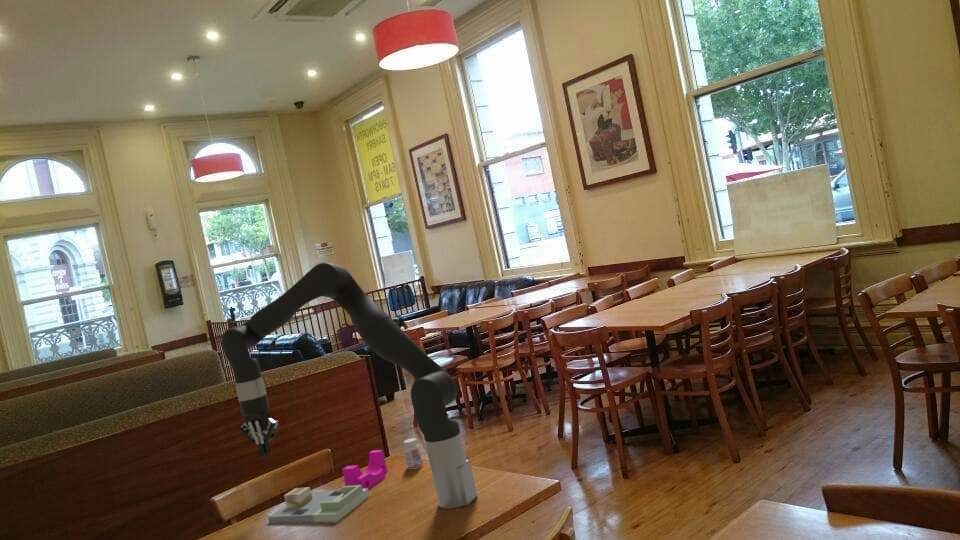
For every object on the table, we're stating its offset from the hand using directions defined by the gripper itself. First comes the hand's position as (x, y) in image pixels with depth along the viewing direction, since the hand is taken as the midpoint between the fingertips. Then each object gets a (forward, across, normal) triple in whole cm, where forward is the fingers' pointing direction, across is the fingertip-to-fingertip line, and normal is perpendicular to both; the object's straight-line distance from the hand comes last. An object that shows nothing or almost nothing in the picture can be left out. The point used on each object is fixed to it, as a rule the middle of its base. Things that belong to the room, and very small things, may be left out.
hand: (266, 455), depth 189 cm
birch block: (+14, -8, 0) cm, 16 cm away
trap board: (+17, -14, 0) cm, 22 cm away
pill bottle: (+17, -28, -30) cm, 44 cm away
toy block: (+17, -19, -19) cm, 32 cm away
